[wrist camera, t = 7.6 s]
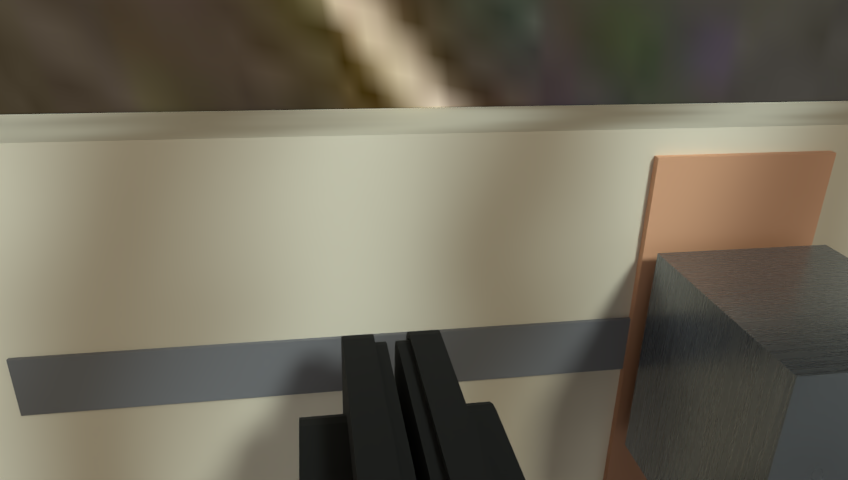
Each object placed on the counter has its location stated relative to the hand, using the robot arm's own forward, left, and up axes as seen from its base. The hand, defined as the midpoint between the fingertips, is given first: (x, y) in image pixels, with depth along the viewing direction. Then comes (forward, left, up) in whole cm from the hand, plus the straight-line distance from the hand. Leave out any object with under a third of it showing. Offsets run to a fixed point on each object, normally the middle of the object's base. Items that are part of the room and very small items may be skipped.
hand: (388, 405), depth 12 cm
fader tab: (-7, 0, -1) cm, 7 cm away
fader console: (-3, 0, -4) cm, 5 cm away
